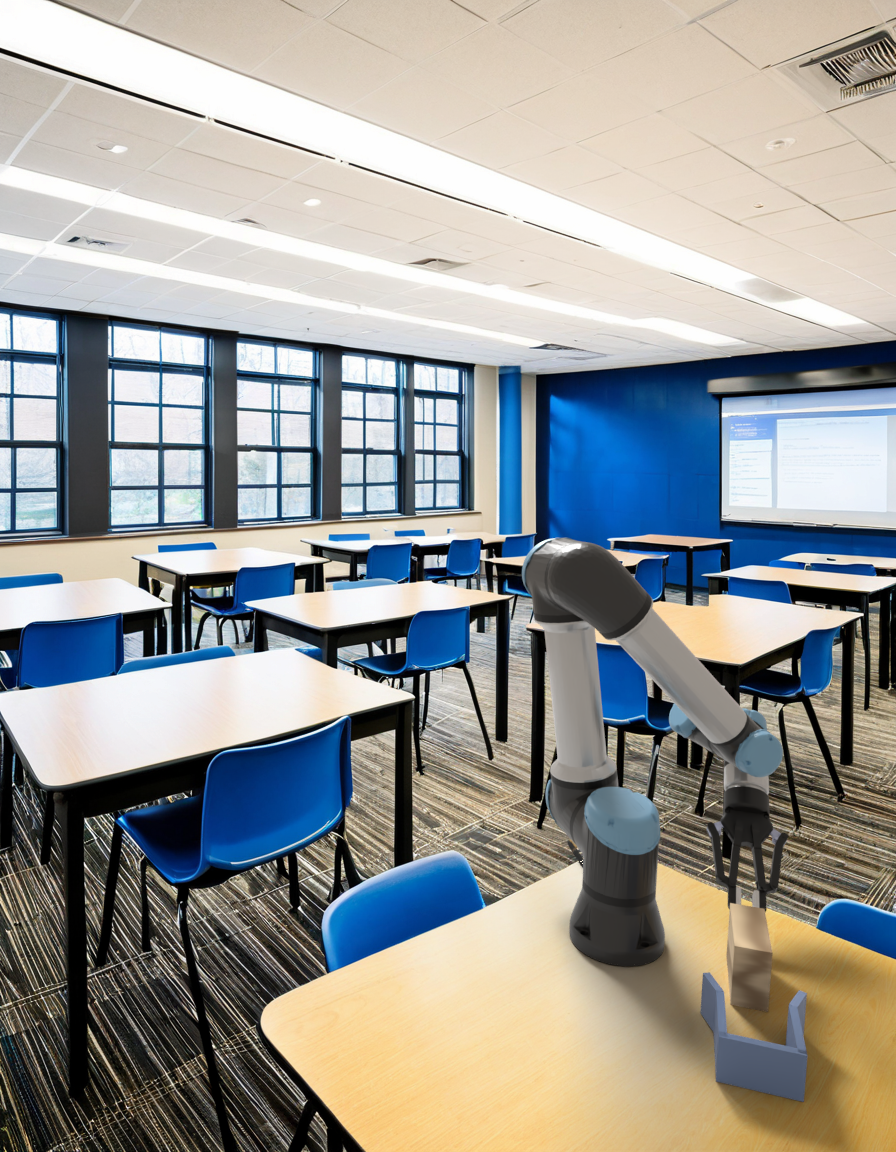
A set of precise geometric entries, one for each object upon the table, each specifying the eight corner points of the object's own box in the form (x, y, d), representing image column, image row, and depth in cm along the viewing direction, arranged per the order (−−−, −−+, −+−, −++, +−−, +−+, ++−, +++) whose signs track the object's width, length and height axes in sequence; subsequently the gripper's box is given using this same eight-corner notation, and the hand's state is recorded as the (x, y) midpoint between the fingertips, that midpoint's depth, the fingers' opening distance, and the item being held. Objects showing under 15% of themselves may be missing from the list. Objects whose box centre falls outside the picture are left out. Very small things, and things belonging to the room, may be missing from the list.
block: (730, 1004, 109) (734, 945, 108) (726, 956, 121) (730, 902, 120) (768, 1012, 108) (772, 952, 107) (760, 963, 119) (764, 908, 118)
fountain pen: (593, 878, 145) (594, 870, 145) (587, 878, 144) (588, 870, 144) (570, 843, 159) (570, 836, 159) (565, 843, 159) (565, 836, 158)
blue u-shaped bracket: (701, 1078, 95) (704, 1033, 95) (700, 1010, 108) (702, 971, 107) (818, 1105, 92) (822, 1059, 91) (803, 1032, 104) (806, 991, 103)
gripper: (789, 807, 137) (794, 948, 123) (700, 795, 141) (696, 930, 127) (795, 790, 131) (802, 936, 117) (702, 778, 135) (698, 917, 122)
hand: (747, 932), depth 122 cm, fingers open, 2 cm apart
